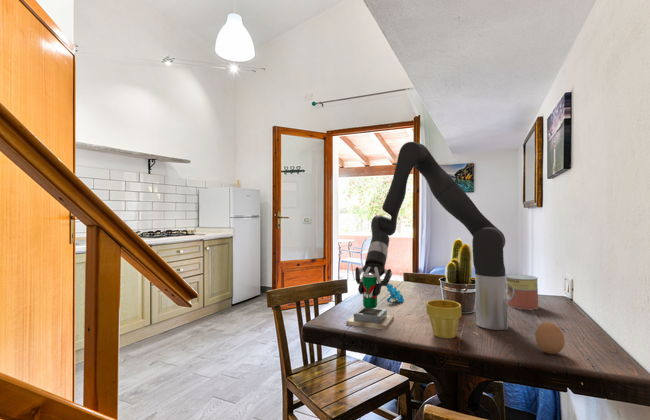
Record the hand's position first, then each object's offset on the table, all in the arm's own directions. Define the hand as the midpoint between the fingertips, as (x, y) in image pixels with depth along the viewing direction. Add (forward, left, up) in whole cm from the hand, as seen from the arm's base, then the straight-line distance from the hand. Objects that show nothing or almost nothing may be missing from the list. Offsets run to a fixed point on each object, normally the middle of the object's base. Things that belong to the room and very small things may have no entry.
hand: (368, 293), depth 114 cm
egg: (-52, +6, -11) cm, 53 cm away
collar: (0, -2, -9) cm, 9 cm away
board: (0, -2, -10) cm, 11 cm away
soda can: (0, -2, -5) cm, 6 cm away
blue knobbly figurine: (-2, -34, -11) cm, 36 cm away
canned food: (-52, -45, -11) cm, 69 cm away
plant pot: (-25, +2, -11) cm, 27 cm away
